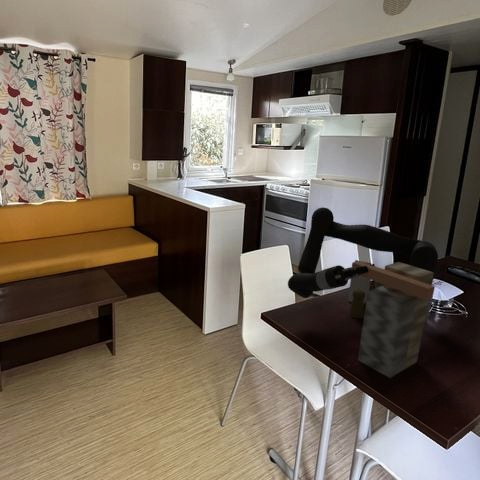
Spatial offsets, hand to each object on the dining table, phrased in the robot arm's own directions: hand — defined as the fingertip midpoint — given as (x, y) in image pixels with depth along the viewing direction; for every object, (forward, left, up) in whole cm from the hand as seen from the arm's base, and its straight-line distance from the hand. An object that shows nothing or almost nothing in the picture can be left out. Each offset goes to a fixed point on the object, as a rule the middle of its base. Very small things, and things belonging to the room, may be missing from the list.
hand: (370, 267), depth 124 cm
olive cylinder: (-12, -29, -31) cm, 44 cm away
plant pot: (-34, -48, -31) cm, 66 cm away
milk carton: (-19, -43, -31) cm, 56 cm away
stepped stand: (-8, +5, -31) cm, 33 cm away
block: (-3, +6, -3) cm, 8 cm away
